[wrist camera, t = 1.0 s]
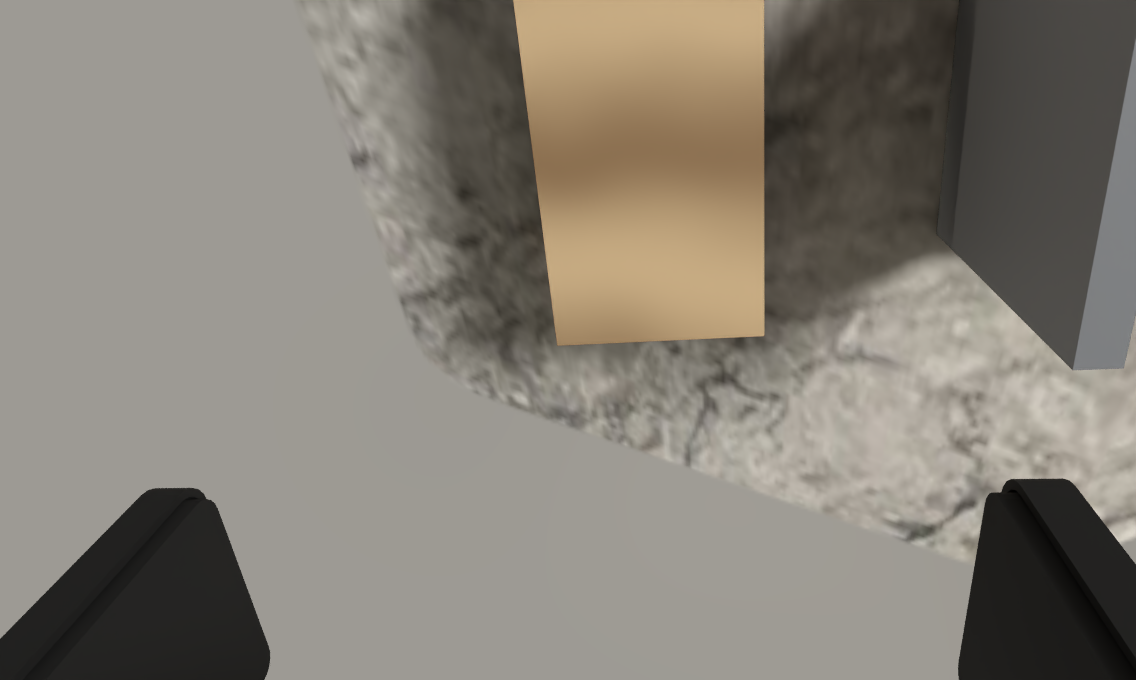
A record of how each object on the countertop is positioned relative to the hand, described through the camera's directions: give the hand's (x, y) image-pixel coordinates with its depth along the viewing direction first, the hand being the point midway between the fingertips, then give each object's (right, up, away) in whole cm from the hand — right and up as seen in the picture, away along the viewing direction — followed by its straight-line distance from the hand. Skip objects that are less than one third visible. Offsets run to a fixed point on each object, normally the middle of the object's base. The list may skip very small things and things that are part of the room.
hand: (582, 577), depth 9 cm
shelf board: (+2, +9, +12) cm, 15 cm away
